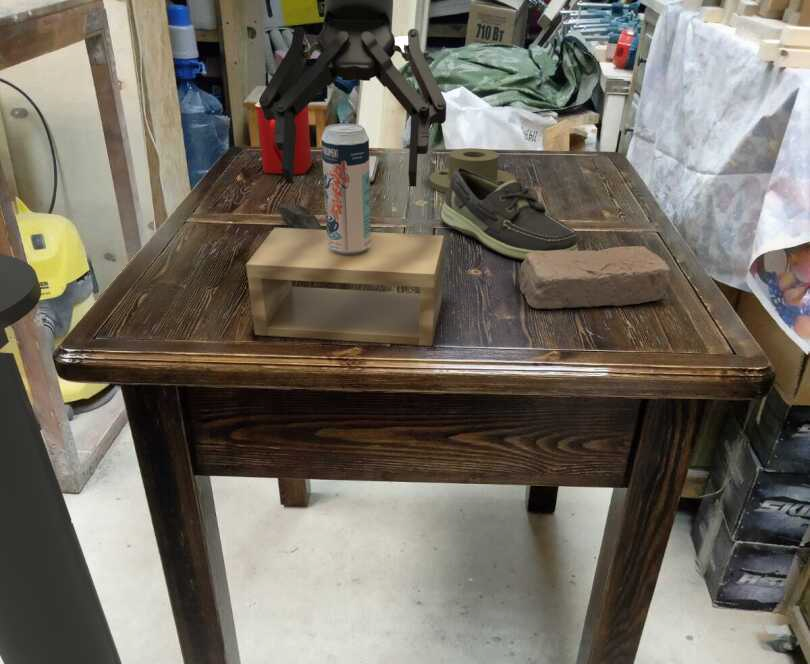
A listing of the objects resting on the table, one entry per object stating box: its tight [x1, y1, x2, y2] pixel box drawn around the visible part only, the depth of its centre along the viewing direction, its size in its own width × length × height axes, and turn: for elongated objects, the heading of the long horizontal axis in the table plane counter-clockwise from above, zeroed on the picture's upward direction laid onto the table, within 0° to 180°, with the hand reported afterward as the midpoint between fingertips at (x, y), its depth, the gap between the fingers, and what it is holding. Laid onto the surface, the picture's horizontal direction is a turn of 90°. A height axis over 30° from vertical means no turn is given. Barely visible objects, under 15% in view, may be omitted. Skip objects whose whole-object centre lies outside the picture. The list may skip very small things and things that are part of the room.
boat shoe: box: [439, 167, 579, 261], centre depth 107 cm, size 10×25×8 cm, turn 46°
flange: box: [428, 147, 517, 194], centre depth 131 cm, size 5×15×15 cm
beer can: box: [321, 123, 372, 254], centre depth 80 cm, size 5×5×12 cm
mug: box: [254, 101, 313, 176], centre depth 134 cm, size 12×8×11 cm
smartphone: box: [369, 155, 379, 183], centre depth 137 cm, size 7×1×15 cm
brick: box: [518, 245, 671, 310], centre depth 93 cm, size 17×8×5 cm, turn 98°
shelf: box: [245, 227, 445, 347], centre depth 86 cm, size 20×12×8 cm, turn 83°
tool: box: [275, 202, 326, 230], centre depth 108 cm, size 21×8×3 cm, turn 30°
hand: (349, 178), depth 82 cm, fingers open, 13 cm apart
